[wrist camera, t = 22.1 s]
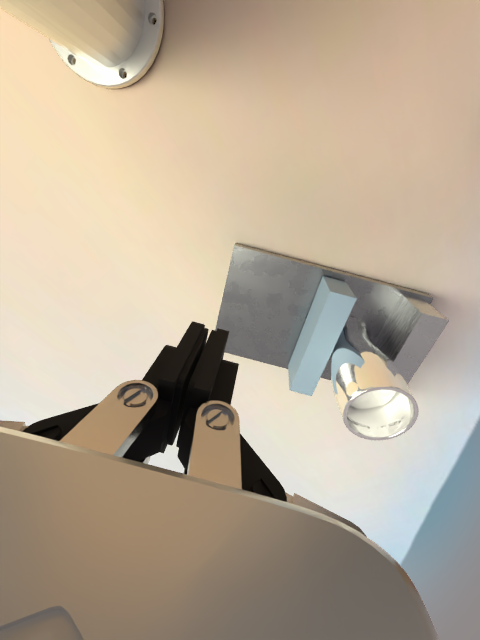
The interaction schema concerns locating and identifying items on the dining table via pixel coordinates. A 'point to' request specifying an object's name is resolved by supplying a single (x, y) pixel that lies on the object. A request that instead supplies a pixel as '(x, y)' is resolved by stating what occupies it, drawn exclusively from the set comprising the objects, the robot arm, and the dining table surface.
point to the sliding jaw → (320, 334)
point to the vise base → (295, 302)
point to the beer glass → (369, 386)
